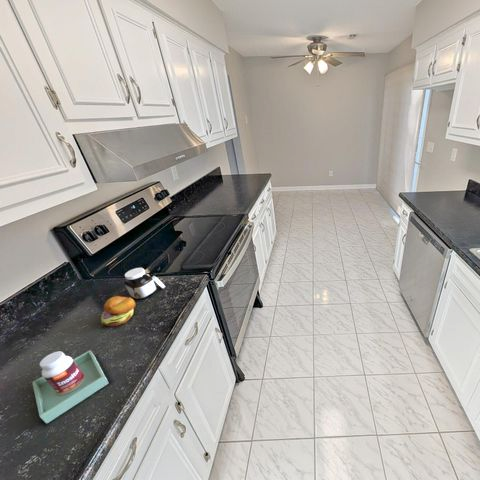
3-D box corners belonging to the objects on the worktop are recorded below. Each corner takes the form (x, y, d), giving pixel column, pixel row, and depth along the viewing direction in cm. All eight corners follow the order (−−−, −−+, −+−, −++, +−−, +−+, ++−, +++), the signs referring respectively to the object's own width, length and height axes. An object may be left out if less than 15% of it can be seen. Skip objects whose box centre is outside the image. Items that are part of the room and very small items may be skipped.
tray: (38, 388, 72) (32, 381, 71) (94, 356, 81) (90, 349, 80) (46, 423, 63) (39, 416, 62) (108, 383, 72) (104, 376, 71)
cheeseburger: (105, 315, 98) (101, 293, 95) (138, 310, 103) (136, 289, 100) (98, 332, 90) (94, 309, 87) (135, 326, 95) (132, 304, 92)
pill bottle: (66, 398, 68) (43, 372, 63) (52, 392, 70) (29, 366, 65) (90, 377, 74) (71, 351, 69) (77, 372, 76) (57, 346, 71)
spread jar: (128, 298, 107) (116, 276, 102) (151, 282, 117) (141, 261, 111) (149, 302, 104) (138, 279, 98) (171, 286, 113) (162, 264, 108)
